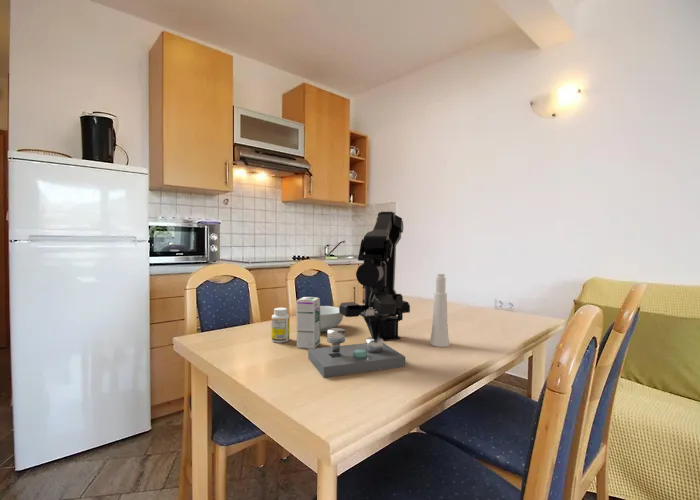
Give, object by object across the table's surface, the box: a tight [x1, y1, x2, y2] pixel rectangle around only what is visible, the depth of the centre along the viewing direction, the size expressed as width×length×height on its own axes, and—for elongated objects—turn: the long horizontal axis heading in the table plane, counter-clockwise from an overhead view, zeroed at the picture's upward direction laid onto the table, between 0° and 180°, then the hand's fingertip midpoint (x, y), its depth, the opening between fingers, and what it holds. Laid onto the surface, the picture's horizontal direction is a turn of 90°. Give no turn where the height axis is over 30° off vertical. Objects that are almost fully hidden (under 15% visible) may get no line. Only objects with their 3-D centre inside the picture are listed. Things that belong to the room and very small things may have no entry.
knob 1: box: [326, 327, 346, 353], centre depth 91 cm, size 5×5×6 cm
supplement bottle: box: [271, 307, 290, 344], centre depth 111 cm, size 6×6×10 cm
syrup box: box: [296, 296, 321, 350], centre depth 106 cm, size 6×6×14 cm
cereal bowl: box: [295, 305, 344, 333], centre depth 127 cm, size 17×17×7 cm
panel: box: [307, 342, 406, 378], centre depth 93 cm, size 22×14×2 cm, turn 112°
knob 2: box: [365, 336, 384, 353], centre depth 95 cm, size 5×5×6 cm
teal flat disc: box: [353, 350, 367, 359], centre depth 90 cm, size 4×4×1 cm
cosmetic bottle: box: [429, 273, 451, 348], centre depth 110 cm, size 6×6×22 cm
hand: (374, 339), depth 95 cm, fingers closed, pressing on knob 2
